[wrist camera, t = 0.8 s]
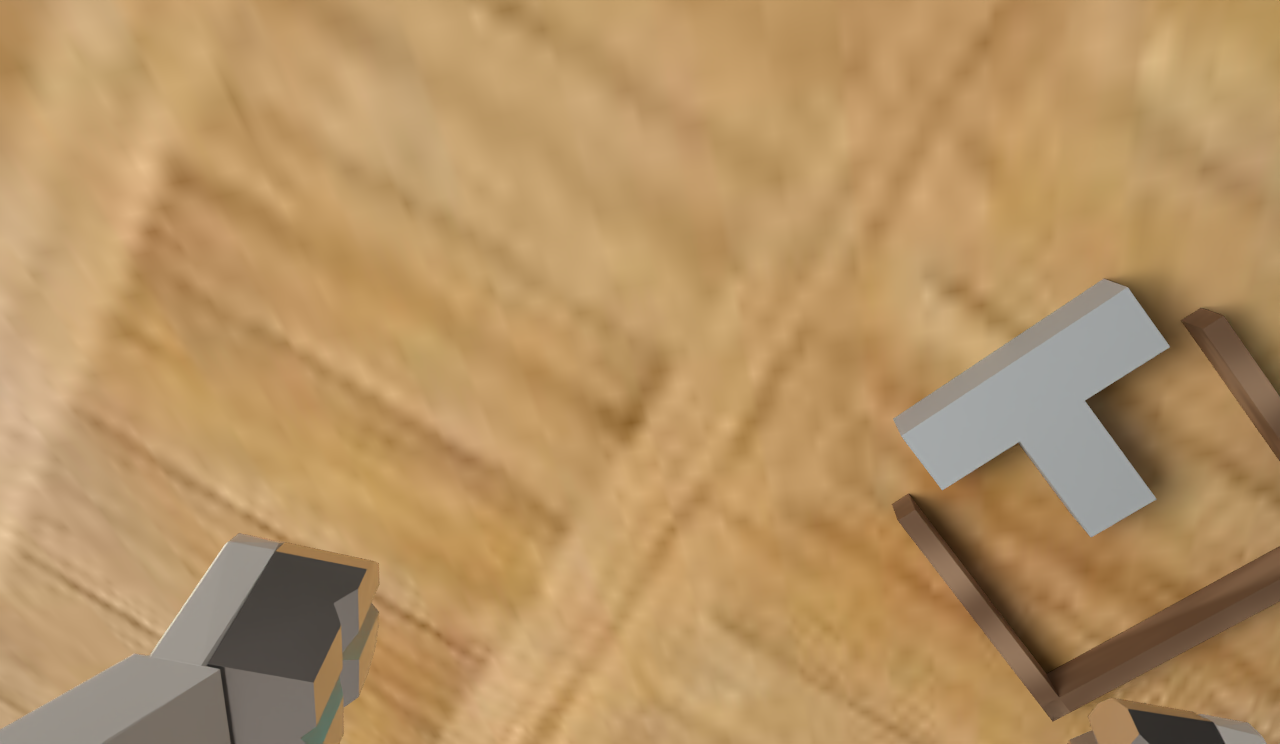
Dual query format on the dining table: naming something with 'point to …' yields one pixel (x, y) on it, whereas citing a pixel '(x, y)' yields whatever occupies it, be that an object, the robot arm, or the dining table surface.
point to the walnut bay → (1165, 630)
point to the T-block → (1046, 406)
